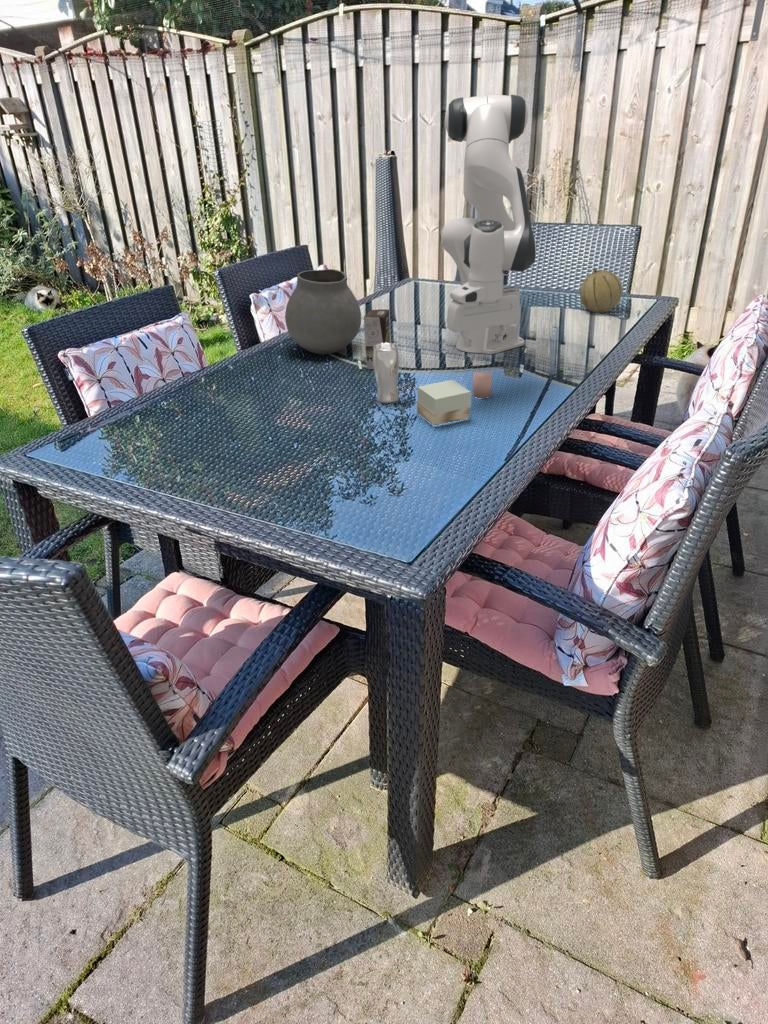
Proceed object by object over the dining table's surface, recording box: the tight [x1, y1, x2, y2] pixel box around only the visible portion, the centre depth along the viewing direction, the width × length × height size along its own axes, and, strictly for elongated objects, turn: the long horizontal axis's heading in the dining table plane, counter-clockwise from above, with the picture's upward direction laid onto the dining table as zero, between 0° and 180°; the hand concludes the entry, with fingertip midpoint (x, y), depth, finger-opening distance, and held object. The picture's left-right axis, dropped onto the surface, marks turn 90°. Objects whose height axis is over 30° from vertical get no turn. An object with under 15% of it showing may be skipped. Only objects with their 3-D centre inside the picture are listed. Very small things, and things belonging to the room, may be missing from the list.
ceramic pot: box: [284, 268, 362, 355], centre depth 226 cm, size 24×24×25 cm
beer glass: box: [373, 342, 400, 405], centre depth 189 cm, size 7×7×15 cm
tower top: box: [417, 379, 472, 414], centre depth 178 cm, size 10×10×4 cm
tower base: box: [416, 400, 470, 425], centre depth 180 cm, size 10×10×4 cm
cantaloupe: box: [579, 269, 623, 313], centre depth 253 cm, size 15×15×15 cm
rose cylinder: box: [472, 371, 493, 399], centre depth 190 cm, size 5×5×6 cm
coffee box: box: [363, 309, 392, 370], centre depth 214 cm, size 9×6×16 cm
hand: (483, 344), depth 184 cm, fingers open, 8 cm apart
